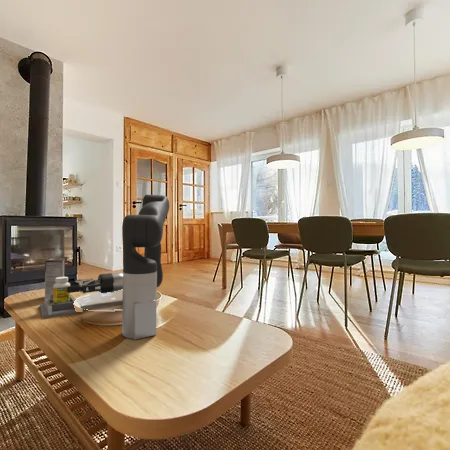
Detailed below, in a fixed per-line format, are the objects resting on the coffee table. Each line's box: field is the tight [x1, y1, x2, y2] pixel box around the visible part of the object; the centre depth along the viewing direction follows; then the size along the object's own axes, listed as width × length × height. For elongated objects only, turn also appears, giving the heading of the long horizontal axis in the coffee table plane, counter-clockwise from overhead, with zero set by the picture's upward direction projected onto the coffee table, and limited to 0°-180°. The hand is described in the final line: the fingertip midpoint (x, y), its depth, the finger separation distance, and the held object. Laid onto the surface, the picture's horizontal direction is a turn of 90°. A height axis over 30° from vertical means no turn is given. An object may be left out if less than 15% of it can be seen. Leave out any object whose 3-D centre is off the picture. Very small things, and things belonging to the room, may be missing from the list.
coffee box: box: [44, 257, 66, 299], centre depth 117 cm, size 9×6×16 cm
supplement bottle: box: [53, 276, 71, 304], centre depth 101 cm, size 5×5×10 cm
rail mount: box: [39, 294, 77, 319], centre depth 101 cm, size 16×12×3 cm
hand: (65, 287), depth 101 cm, fingers open, 8 cm apart
